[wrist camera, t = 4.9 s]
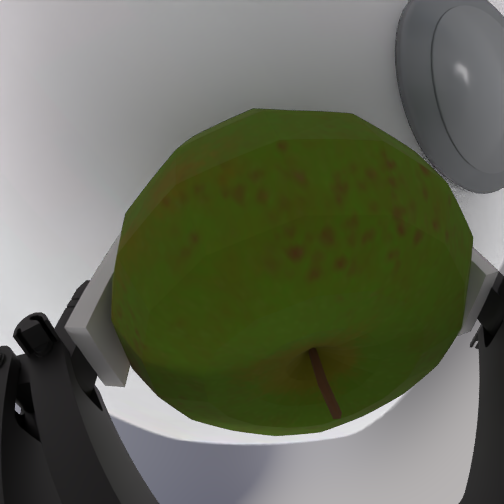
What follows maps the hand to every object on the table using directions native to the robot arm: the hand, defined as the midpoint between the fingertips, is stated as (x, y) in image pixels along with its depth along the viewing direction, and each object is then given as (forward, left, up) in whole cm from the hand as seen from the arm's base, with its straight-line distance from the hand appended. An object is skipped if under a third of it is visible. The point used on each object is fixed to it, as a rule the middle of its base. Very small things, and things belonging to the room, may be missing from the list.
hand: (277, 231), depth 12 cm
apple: (0, 0, -2) cm, 2 cm away
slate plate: (+14, +8, -2) cm, 16 cm away
